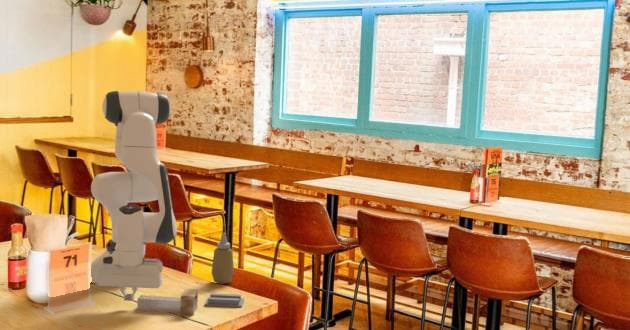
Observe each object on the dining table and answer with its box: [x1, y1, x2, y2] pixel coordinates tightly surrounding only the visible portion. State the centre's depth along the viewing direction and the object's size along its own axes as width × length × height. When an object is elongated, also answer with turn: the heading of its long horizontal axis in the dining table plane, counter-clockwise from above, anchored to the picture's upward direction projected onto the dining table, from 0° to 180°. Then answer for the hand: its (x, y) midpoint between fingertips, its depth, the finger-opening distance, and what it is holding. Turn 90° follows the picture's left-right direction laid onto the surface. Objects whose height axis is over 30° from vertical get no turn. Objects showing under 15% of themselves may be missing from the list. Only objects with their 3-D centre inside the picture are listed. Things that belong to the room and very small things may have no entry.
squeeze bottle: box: [211, 232, 235, 285], centre depth 269 cm, size 8×8×18 cm
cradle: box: [204, 292, 245, 308], centre depth 245 cm, size 12×8×2 cm, turn 90°
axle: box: [136, 294, 198, 314], centre depth 235 cm, size 18×4×4 cm, turn 86°
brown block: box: [179, 288, 199, 316], centre depth 235 cm, size 4×8×6 cm, turn 0°
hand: (128, 300), depth 235 cm, fingers closed
